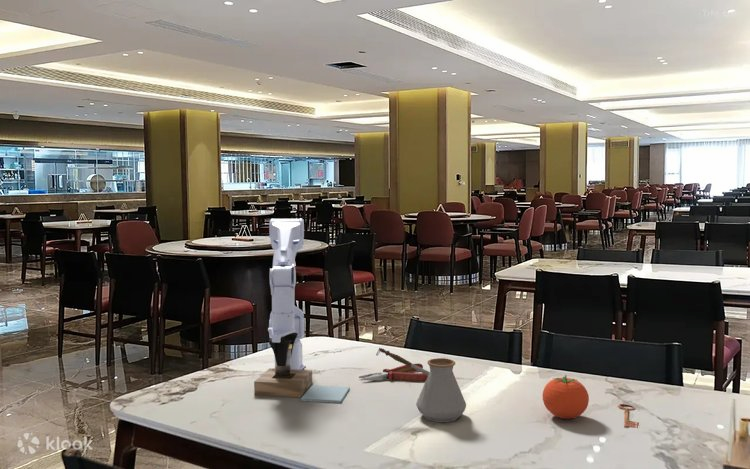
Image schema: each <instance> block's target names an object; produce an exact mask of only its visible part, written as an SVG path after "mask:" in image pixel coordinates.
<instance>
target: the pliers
mask: <svg viewBox="0 0 750 469" xmlns="http://www.w3.org/2000/svg"><path fill="white" fill-rule="evenodd" d="M413 364H414V365H416V366H418V367H420V368H422V369H424V365H423V364H421V363H413ZM417 371H418V370H416V369H414V368H412V367H410V366H408V365H405V364H402V365H400V366H397V367H393V368H390V369H389V368H384V369H382V372H381V371H378V372H373V373H369V374H364V375H360V376H358V379H361V381H379V382H380V380H381V381H385V380H387V379H388V380H387V381H388V382H392V381H400V380H401V381H404V382H426V379H427V377H428V376H427V375H425V374H424V373H422V372H420V373H419V371H418V372H417ZM414 372H415V373H414ZM383 379H384V380H383Z"/></svg>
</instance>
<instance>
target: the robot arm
mask: <svg viewBox="0 0 750 469" xmlns="http://www.w3.org/2000/svg"><path fill="white" fill-rule="evenodd" d="M304 221H305V220H304V219H303V218H301V217H299V218H271V219H270V220H269V226H268V227H269V231H268V232H269V238H270V239H269V240H270V245H271V248H272V249H273V250H275V251H274V253H273V258H272V266H271V267H272V268H270V267H269V287H270V295H271V311H270V314H269V320H268V321H269V322H268V328H267V331H268V334H269V339H268V345H270V347H271V349H272V351H273V355H274V360H275V359H276V363H277V366H286V362H287V354H288V349H289V346H290V343H291V344H292V348H291V365H290V369H294V370H304V368H305V367H307V366H306V364H305V363H304V362H303V343H302V341H301V340H302V339H303V338H305V315H304V313H303V310H302V309H300V308H299V307H297V306H296V305H295V287H296V283H297V282H296V281H297V277H296V276H297V274H296V273H297V272H296V264H295V262H296V261H295V260H296V256H297V253H298V252H299V250H301V249H303V248H304V247H303V245H304V238H305V224H304V223H305V222H304ZM273 369H275V367H274V368H273Z"/></svg>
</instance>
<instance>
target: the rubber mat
mask: <svg viewBox="0 0 750 469" xmlns="http://www.w3.org/2000/svg"><path fill="white" fill-rule="evenodd" d="M309 387H310V388H308V389H307V390H306V391H305V392H304V395H302V396H301V397H300V398H301V399H300V401H301V402H312V403H313V402H315V403H334V404H341V403H342V401H343V400H344V399H345V397H346V396H347V395H348V393H349V391H350V389H351V387H350V386H339V385H338V386H337V385H318V384H317V385H316V384H311V385H310V386H309Z"/></svg>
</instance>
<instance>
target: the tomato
mask: <svg viewBox="0 0 750 469" xmlns="http://www.w3.org/2000/svg"><path fill="white" fill-rule="evenodd" d="M541 396H542V397H541V398H542V402H543V405H544V407H545V409H547V411H549V413H550V414H552V415H553V416H555V417H558V418H560V419H564V420H566V419H568V420H570V419H574V418H577V417H579V416H581V415H582V414H583V413H584V412H586V410H587V408H588V407H589V401H590V398H589V392H588V390H587V389H586V387H585V386H584V385H583V384H582V382H580V381H578V379H575V378H570V377H567V374H565V376H562V377H555V378H552V379H551V380H550V381H549V382H547V383H546V385H545V386H544V387H543V390H542V394H541Z"/></svg>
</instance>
